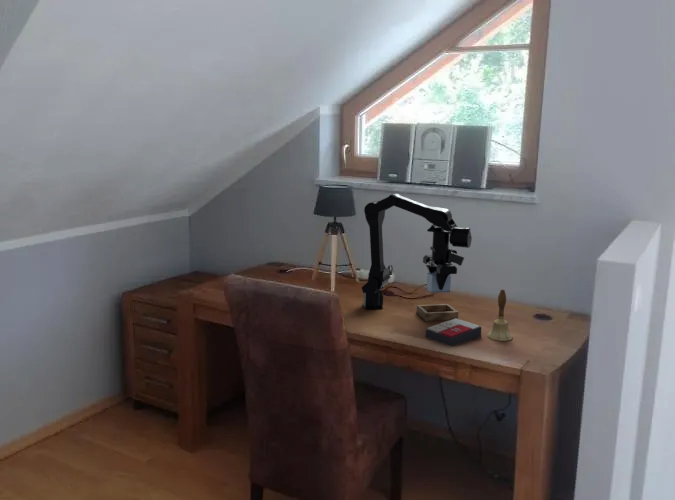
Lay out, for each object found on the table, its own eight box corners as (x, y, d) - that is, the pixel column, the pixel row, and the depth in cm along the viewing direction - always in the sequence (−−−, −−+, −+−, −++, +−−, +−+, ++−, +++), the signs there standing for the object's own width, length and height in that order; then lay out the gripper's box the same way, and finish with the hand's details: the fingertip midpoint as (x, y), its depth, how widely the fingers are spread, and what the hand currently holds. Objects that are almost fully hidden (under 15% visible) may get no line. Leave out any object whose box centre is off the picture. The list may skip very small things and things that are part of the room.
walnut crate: (425, 321, 232) (426, 313, 232) (416, 313, 242) (416, 305, 241) (457, 320, 235) (458, 311, 234) (447, 311, 244) (448, 303, 244)
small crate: (431, 292, 233) (432, 276, 232) (426, 289, 238) (427, 272, 237) (450, 292, 235) (451, 275, 233) (444, 288, 239) (445, 272, 238)
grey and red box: (425, 327, 216) (455, 316, 225) (425, 339, 217) (455, 328, 226) (451, 336, 208) (482, 324, 217) (451, 349, 209) (481, 337, 218)
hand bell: (482, 337, 218) (485, 290, 214) (494, 331, 224) (498, 285, 220) (505, 343, 212) (508, 295, 209) (517, 337, 218) (521, 290, 215)
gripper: (472, 249, 225) (469, 294, 229) (452, 239, 243) (450, 280, 247) (441, 250, 223) (439, 295, 226) (423, 239, 241) (421, 281, 244)
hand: (438, 287), depth 236 cm, fingers closed on small crate, 5 cm apart
